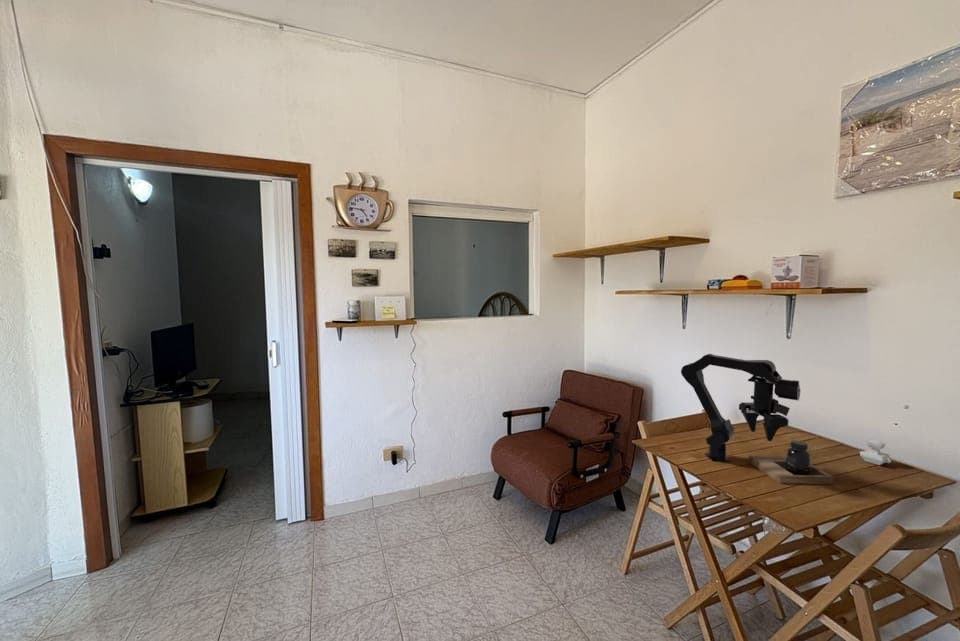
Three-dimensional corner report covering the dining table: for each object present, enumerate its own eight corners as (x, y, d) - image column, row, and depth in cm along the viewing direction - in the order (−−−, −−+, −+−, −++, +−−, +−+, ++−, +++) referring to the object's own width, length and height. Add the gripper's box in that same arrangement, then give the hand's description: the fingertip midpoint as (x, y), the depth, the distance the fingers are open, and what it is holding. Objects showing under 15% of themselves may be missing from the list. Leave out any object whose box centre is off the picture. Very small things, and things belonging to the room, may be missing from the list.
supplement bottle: (813, 480, 139) (815, 447, 138) (790, 477, 141) (792, 445, 140) (803, 471, 146) (805, 440, 145) (781, 469, 148) (783, 438, 147)
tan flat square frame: (748, 461, 154) (748, 455, 154) (795, 461, 153) (796, 455, 153) (779, 483, 137) (780, 476, 137) (833, 483, 137) (833, 476, 136)
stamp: (894, 465, 150) (896, 444, 149) (886, 469, 147) (888, 447, 146) (863, 456, 158) (864, 436, 157) (855, 459, 155) (857, 439, 154)
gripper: (805, 402, 135) (803, 446, 136) (768, 388, 154) (766, 427, 155) (772, 402, 135) (769, 446, 137) (738, 388, 154) (737, 427, 155)
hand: (760, 436), depth 146 cm, fingers open, 9 cm apart
